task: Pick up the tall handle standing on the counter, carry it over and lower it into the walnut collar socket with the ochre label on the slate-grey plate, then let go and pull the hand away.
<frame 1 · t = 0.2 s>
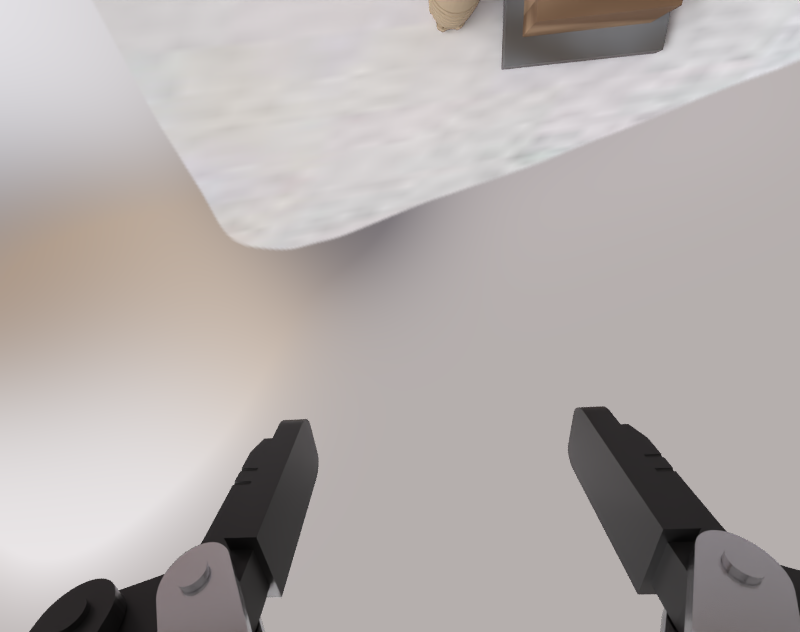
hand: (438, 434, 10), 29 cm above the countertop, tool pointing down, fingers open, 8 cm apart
handle: (448, 11, 29), on the countertop
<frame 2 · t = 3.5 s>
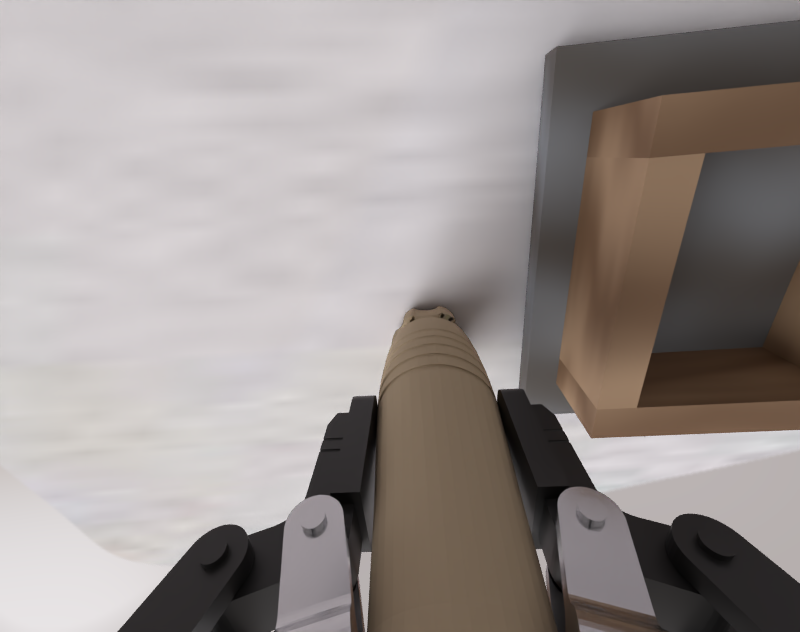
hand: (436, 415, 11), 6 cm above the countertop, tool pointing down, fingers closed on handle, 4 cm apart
handle: (428, 330, 17), on the countertop, touching gripper
socket: (684, 254, 14), on the countertop
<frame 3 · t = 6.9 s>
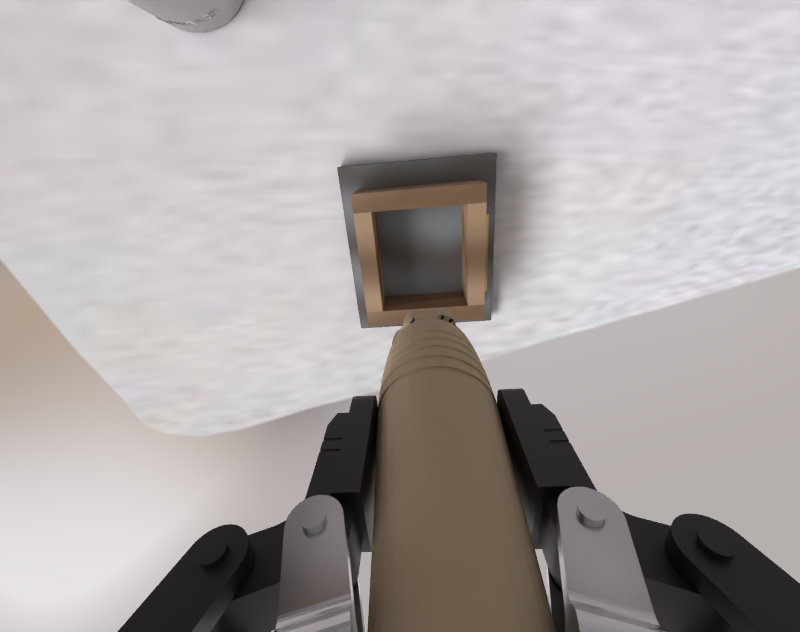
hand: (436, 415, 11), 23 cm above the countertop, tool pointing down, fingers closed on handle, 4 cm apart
handle: (428, 331, 17), point 17 cm above the countertop, touching gripper
socket: (420, 247, 32), on the countertop
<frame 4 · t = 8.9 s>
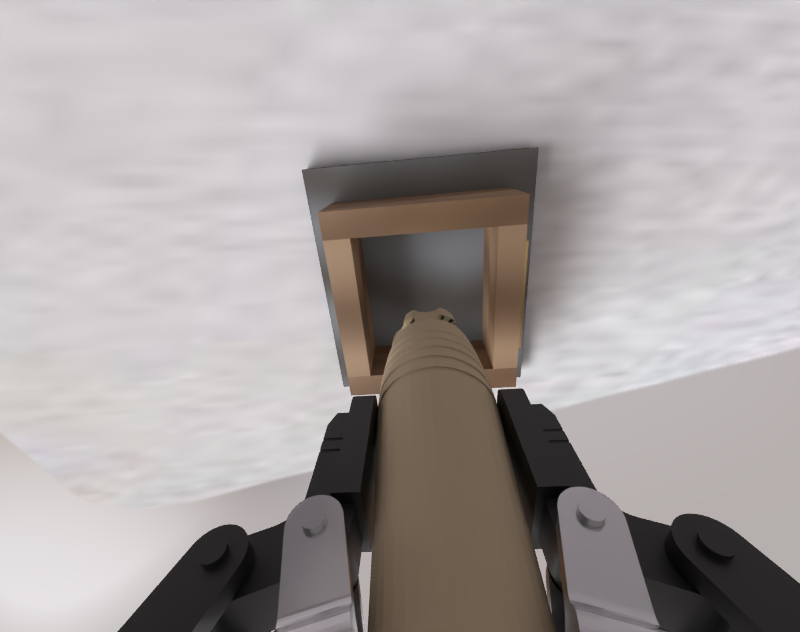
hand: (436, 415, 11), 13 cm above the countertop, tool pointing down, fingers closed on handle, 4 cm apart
handle: (428, 332, 17), point 7 cm above the countertop, touching gripper
socket: (424, 281, 23), on the countertop
when the fingers open (9 cm above the countertop, at t = 10.4 s): handle drops 2 cm, resting on socket.
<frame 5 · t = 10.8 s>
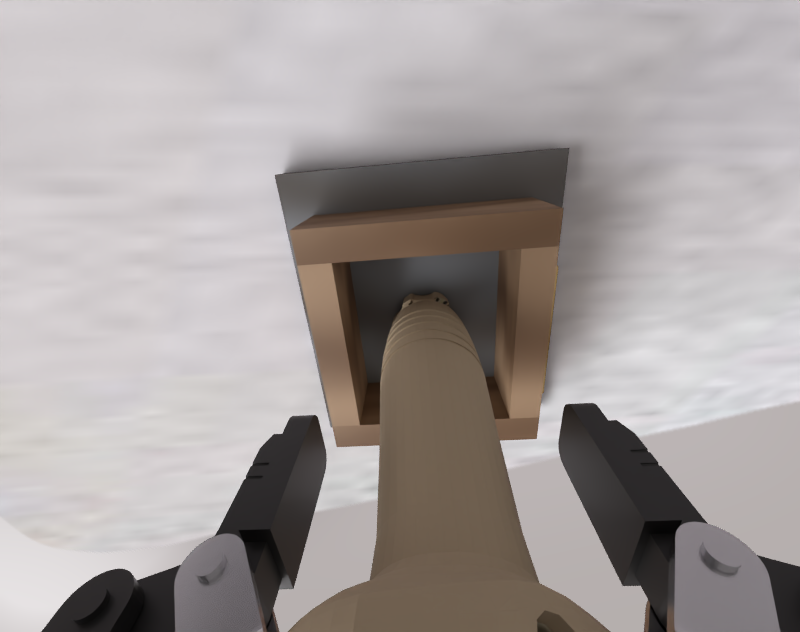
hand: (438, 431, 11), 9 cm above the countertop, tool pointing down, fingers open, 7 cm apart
handle: (425, 314, 18), point 1 cm above the countertop, touching socket
socket: (425, 307, 19), on the countertop
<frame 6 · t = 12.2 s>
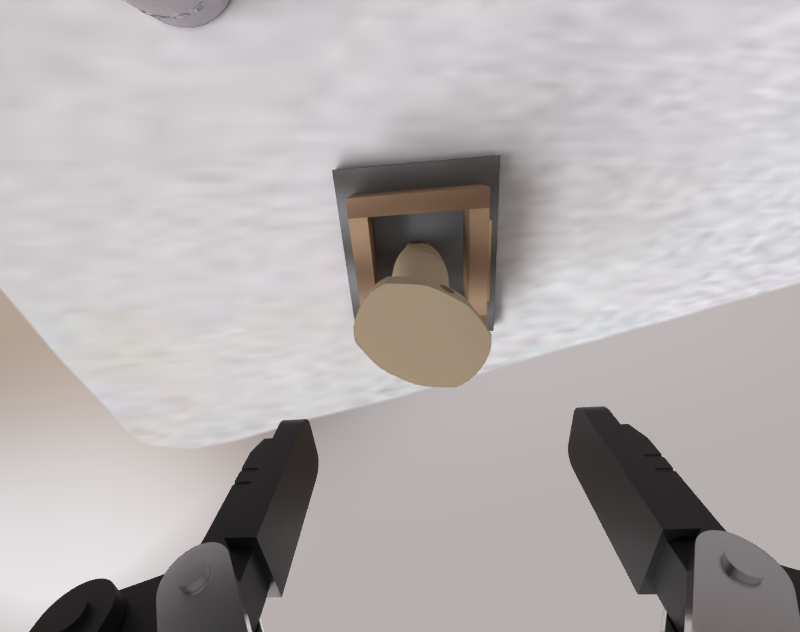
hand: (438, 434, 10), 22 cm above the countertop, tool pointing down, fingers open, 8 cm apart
handle: (419, 257, 30), point 1 cm above the countertop, touching socket
socket: (419, 254, 30), on the countertop
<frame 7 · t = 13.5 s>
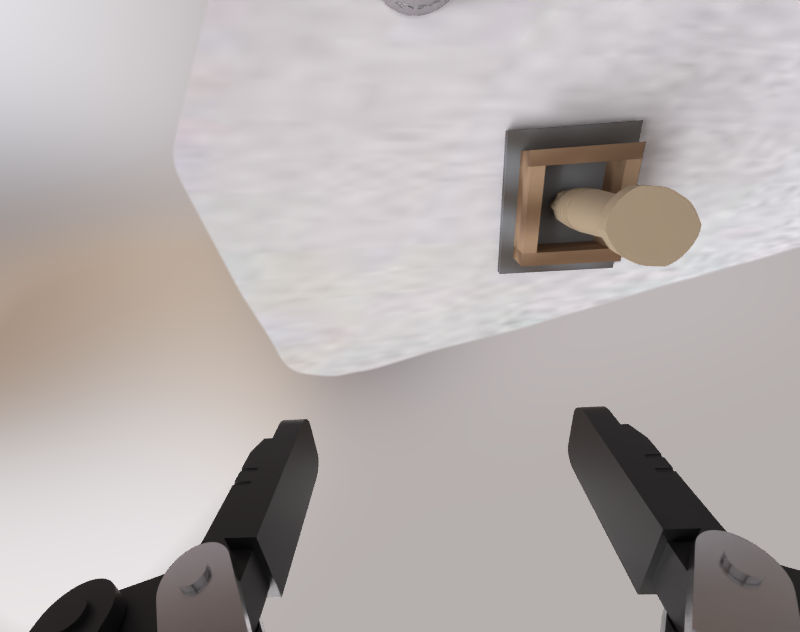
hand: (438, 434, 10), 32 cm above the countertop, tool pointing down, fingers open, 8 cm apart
handle: (563, 204, 37), point 1 cm above the countertop, touching socket
socket: (560, 203, 38), on the countertop
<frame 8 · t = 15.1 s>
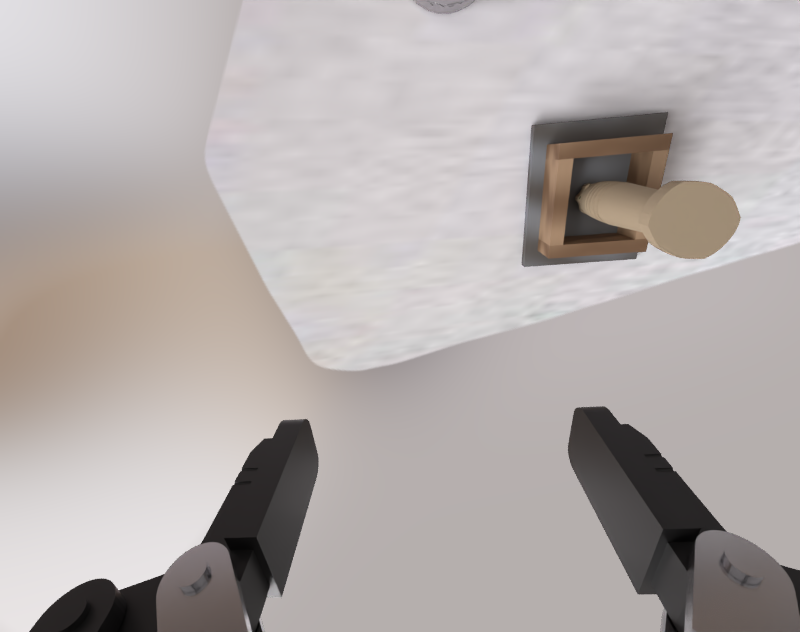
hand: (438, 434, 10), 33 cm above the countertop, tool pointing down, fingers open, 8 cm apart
handle: (587, 196, 38), point 1 cm above the countertop, touching socket
socket: (585, 195, 38), on the countertop
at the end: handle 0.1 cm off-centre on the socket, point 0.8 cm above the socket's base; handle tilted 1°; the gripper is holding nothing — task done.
